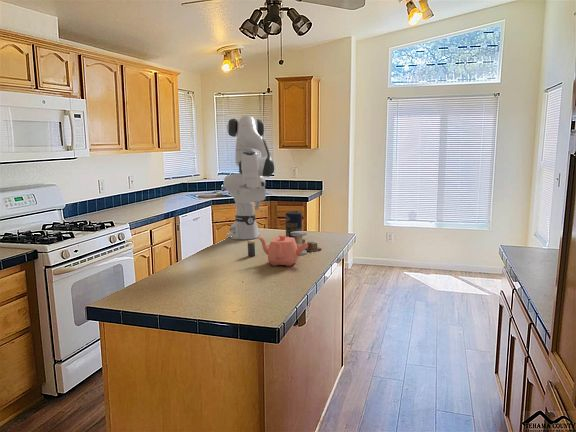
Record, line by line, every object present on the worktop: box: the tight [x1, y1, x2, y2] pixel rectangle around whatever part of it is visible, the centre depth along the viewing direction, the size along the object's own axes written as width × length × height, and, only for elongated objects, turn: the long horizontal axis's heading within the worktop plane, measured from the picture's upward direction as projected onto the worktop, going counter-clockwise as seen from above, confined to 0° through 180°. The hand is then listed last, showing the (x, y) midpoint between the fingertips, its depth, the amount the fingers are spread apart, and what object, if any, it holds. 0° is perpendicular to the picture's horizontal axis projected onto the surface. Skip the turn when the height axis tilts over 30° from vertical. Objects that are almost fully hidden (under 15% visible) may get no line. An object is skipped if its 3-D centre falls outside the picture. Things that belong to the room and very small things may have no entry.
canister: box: [284, 210, 303, 239], centre depth 264 cm, size 10×10×18 cm
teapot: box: [256, 234, 308, 267], centre depth 217 cm, size 18×18×14 cm
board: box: [302, 238, 323, 253], centre depth 247 cm, size 18×7×4 cm, turn 34°
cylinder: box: [247, 239, 256, 258], centre depth 233 cm, size 4×4×8 cm
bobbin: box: [290, 230, 308, 256], centre depth 235 cm, size 8×8×11 cm
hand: (251, 211), depth 230 cm, fingers open, 8 cm apart
